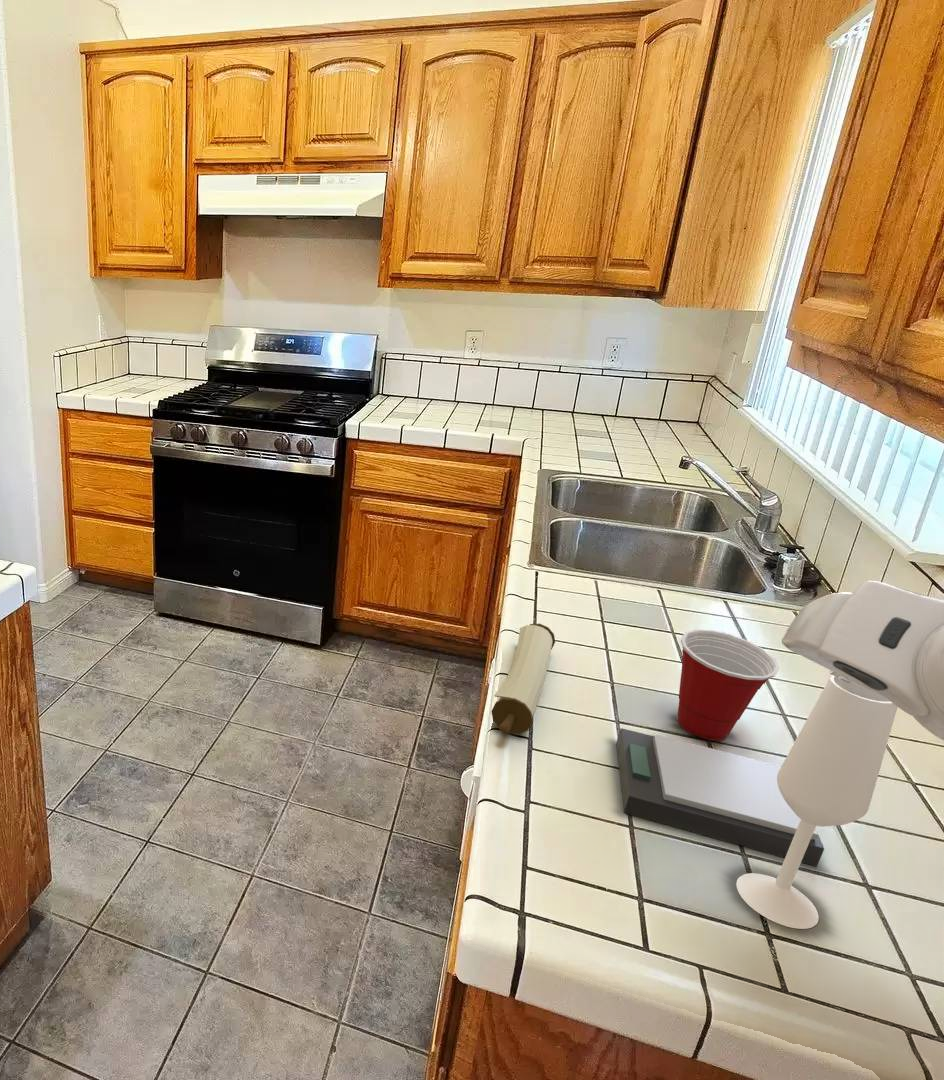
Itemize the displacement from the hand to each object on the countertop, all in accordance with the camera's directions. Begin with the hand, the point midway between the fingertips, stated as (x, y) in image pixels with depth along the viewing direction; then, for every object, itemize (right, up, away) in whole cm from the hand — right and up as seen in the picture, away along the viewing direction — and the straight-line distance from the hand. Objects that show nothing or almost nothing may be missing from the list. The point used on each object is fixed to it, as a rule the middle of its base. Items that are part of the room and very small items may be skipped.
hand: (909, 703), depth 61 cm
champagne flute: (-2, -22, +12) cm, 25 cm away
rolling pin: (-13, -8, +46) cm, 48 cm away
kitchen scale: (0, -17, +25) cm, 30 cm away
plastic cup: (+8, -12, +39) cm, 41 cm away
